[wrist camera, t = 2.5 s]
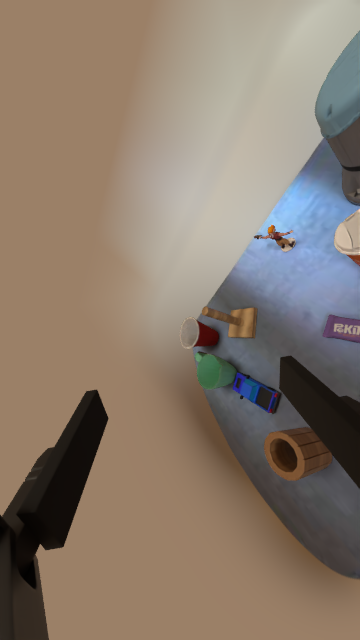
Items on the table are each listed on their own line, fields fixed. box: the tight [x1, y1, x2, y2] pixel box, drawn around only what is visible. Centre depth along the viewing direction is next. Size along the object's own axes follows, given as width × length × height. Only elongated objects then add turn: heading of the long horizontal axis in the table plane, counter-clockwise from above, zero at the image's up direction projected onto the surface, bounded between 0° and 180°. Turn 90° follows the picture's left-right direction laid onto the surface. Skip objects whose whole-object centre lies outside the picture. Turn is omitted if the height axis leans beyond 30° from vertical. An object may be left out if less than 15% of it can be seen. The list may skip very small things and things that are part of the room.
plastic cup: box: [180, 317, 219, 349], centre depth 67 cm, size 11×11×12 cm
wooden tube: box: [264, 427, 332, 480], centre depth 36 cm, size 7×7×11 cm
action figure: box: [254, 225, 296, 252], centre depth 52 cm, size 12×3×9 cm, turn 57°
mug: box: [195, 351, 237, 389], centre depth 59 cm, size 15×10×10 cm
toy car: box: [233, 373, 280, 414], centre depth 50 cm, size 7×12×5 cm, turn 60°
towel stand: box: [202, 307, 257, 338], centre depth 56 cm, size 9×9×16 cm
